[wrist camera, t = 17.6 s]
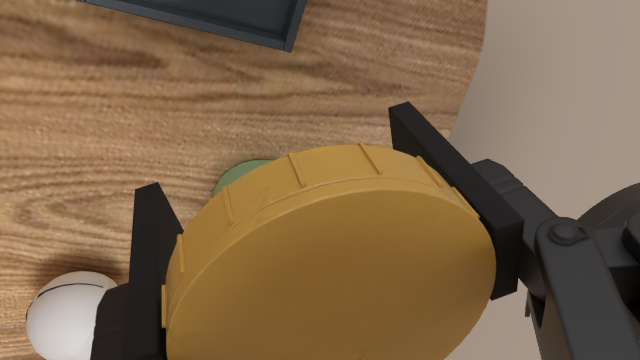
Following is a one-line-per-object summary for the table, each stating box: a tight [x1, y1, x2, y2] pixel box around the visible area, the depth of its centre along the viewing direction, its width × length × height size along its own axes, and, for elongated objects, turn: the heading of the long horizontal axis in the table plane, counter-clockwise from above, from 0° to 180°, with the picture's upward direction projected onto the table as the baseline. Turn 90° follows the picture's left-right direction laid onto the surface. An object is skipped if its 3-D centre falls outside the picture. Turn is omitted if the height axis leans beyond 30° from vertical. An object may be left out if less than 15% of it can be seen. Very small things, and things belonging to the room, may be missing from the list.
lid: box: [162, 142, 496, 360], centre depth 12 cm, size 8×8×2 cm
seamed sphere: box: [1, 271, 118, 360], centre depth 37 cm, size 10×7×7 cm
